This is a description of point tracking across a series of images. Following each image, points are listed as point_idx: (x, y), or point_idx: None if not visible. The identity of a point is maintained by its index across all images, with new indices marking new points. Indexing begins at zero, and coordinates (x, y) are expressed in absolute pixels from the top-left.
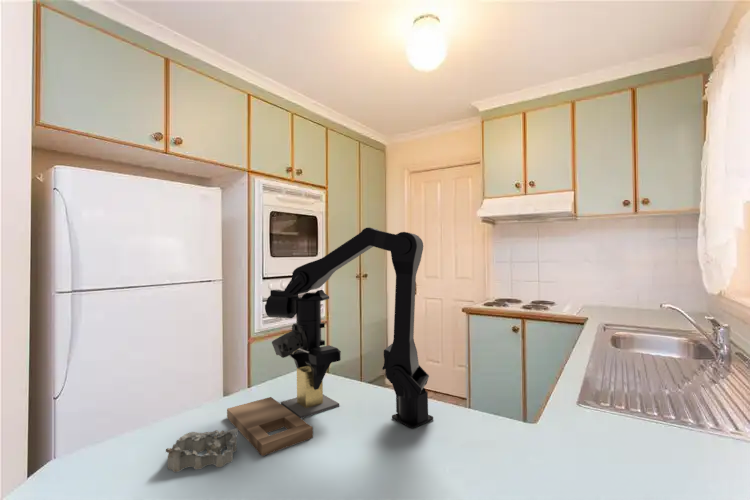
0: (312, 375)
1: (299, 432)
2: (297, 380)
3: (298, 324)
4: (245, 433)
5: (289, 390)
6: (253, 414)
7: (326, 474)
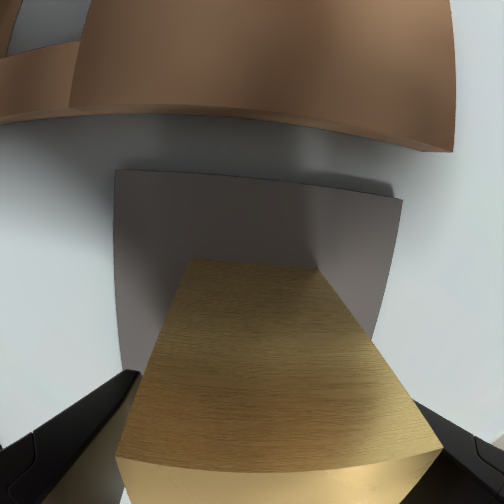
0: (58, 450)
1: None
2: (364, 351)
3: None
4: None
5: (477, 326)
6: None
7: None
